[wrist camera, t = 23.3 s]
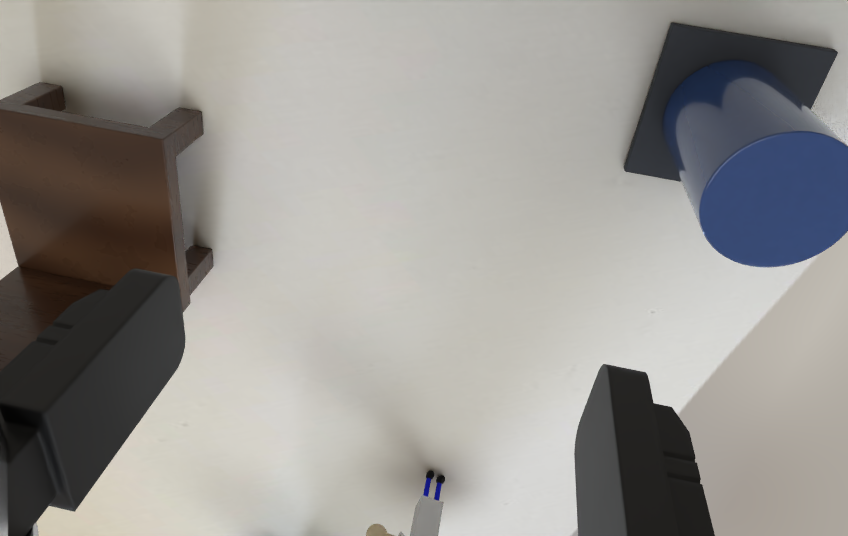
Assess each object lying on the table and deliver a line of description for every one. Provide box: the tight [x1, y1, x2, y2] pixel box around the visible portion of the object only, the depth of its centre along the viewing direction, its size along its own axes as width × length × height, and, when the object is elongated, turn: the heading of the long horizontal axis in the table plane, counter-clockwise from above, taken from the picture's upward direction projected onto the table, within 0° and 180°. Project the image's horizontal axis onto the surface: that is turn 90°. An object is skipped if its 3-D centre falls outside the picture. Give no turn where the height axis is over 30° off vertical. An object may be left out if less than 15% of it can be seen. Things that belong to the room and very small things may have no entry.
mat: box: [624, 23, 838, 182], centre depth 34 cm, size 8×8×1 cm
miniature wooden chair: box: [0, 82, 213, 371], centre depth 36 cm, size 12×11×15 cm
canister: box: [662, 60, 848, 267], centre depth 29 cm, size 6×6×10 cm
